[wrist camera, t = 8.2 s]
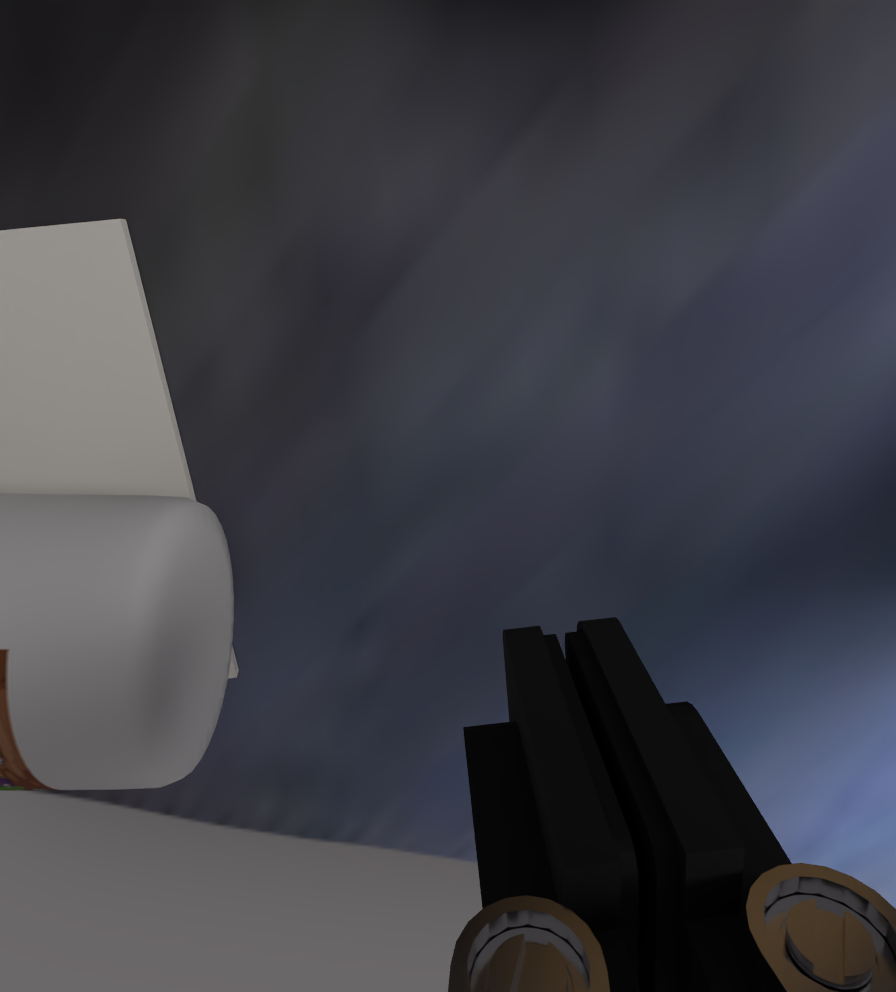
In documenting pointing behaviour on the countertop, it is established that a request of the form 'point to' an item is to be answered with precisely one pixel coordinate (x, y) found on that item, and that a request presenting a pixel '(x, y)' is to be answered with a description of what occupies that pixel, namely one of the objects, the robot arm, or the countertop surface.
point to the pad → (82, 370)
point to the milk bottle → (110, 639)
